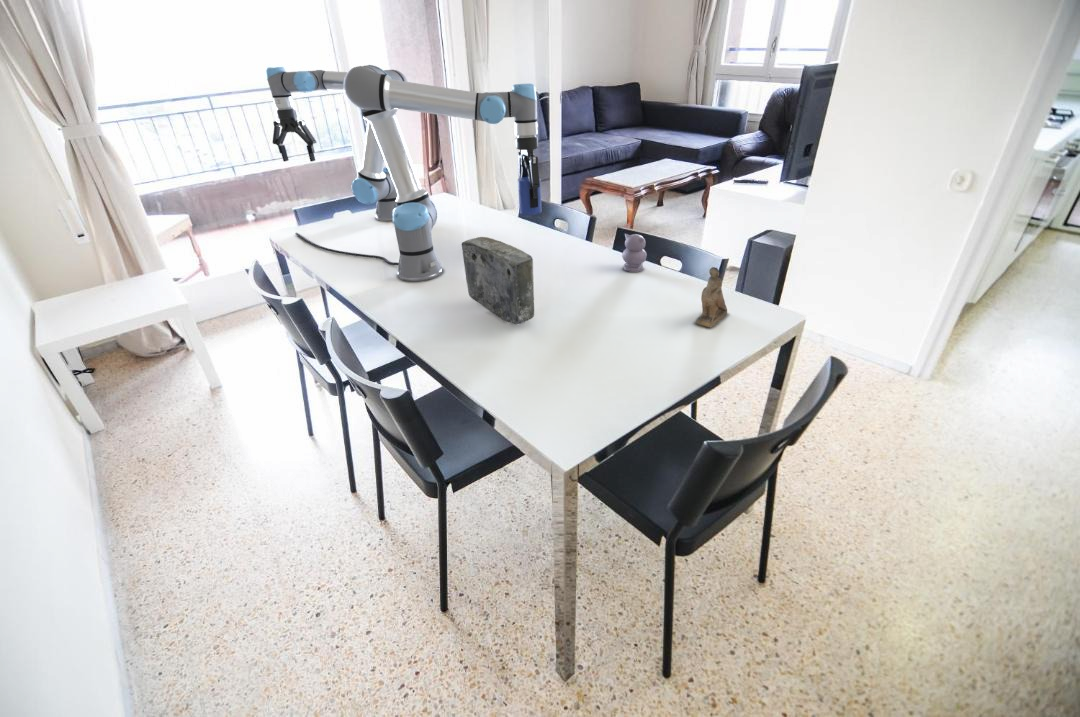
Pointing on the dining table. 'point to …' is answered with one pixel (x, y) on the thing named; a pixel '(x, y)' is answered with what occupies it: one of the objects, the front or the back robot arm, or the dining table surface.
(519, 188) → the canister
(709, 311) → the brown carved statuette
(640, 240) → the cat figurine
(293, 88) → the back robot arm
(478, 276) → the concrete block
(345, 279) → the dining table surface
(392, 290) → the dining table surface
